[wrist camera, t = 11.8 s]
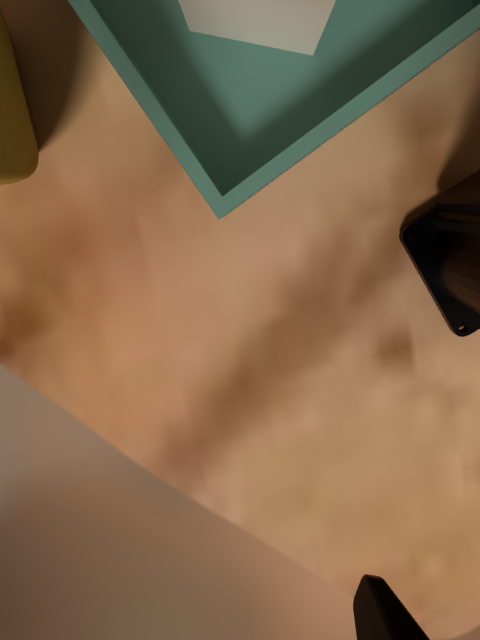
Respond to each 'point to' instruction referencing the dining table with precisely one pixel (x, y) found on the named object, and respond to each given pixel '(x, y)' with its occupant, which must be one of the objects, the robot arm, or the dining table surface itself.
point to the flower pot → (14, 118)
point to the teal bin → (266, 81)
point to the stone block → (261, 21)
